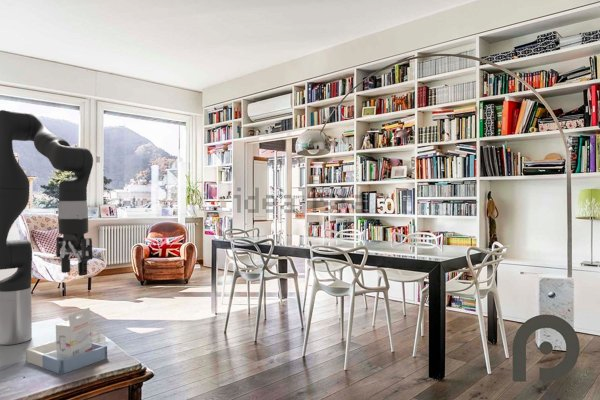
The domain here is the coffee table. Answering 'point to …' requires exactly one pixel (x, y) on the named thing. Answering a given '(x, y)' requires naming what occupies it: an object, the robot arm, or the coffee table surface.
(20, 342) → the robot arm
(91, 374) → the coffee table surface
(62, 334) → the ink cartridge box
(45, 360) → the organizer tray
